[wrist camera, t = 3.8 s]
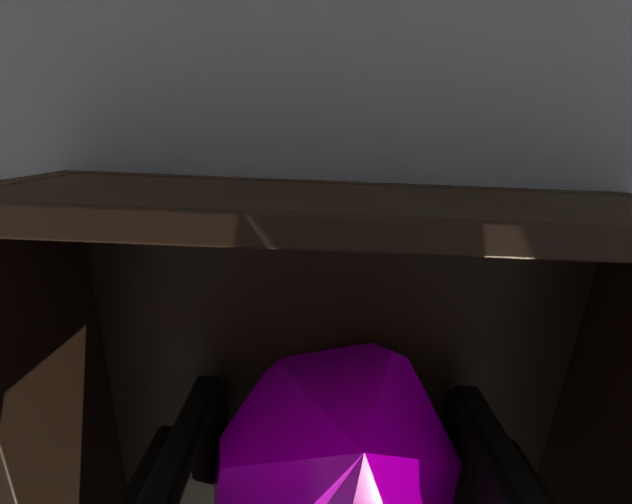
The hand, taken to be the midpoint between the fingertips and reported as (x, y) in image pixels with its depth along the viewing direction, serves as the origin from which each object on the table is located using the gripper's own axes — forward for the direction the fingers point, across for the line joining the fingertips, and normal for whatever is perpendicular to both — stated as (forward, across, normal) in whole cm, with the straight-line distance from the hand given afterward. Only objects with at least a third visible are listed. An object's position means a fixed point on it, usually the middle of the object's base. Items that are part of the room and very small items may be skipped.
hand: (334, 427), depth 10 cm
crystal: (+1, 0, 0) cm, 1 cm away
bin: (+1, 0, 0) cm, 1 cm away
